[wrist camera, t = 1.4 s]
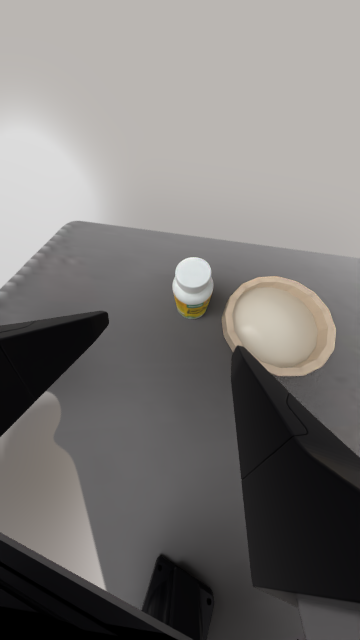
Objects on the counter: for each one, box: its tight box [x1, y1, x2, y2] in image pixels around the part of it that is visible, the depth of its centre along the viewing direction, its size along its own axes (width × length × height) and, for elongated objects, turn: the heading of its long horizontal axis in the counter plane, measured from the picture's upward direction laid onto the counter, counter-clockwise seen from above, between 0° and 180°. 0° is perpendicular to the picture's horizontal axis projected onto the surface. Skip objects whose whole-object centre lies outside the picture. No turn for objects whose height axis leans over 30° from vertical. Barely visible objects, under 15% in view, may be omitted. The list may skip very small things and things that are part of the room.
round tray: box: [222, 276, 336, 376], centre depth 21 cm, size 15×15×2 cm
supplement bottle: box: [173, 257, 213, 319], centre depth 20 cm, size 5×5×10 cm
